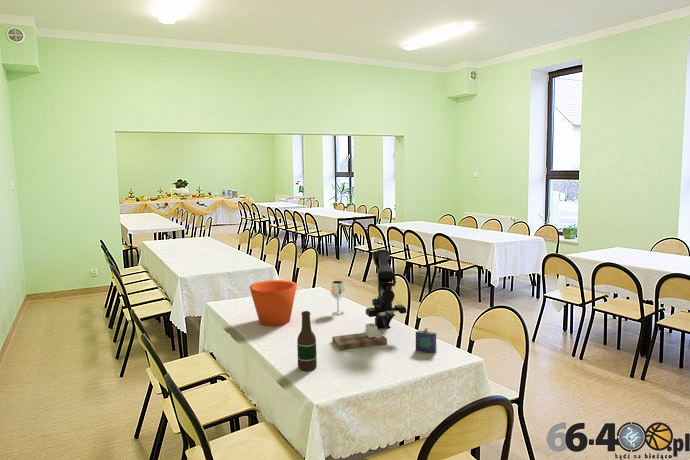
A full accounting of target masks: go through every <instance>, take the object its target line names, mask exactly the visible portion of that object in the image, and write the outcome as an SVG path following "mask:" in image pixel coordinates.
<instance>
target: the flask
mask: <svg viewBox="0 0 690 460" xmlns="http://www.w3.org/2000/svg"><path fill="white" fill-rule="evenodd" d="M428 330H429V329H428V328H427V327H425V328H424V330H420V329H419V330H416V331H415V351H416V352H417V351H418V352H417V353H427V354H428V353H429V354H434V353H437V332H436V331H428Z"/></svg>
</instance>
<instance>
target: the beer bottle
mask: <svg viewBox="0 0 690 460" xmlns="http://www.w3.org/2000/svg"><path fill="white" fill-rule="evenodd" d="M300 315H301V328H300V332H299V334H298V336H297V342H296V343H297V346H296V347H297V368H298V369H299V371H302V372H311V371H315V369H316V368H317V367H318V366H317V364H318V361H317V360H318V359H317V358H318V357H317V356H318V355H317V337H316V335H315V333H314V332H313V330H312V325H311V324H312V323H311V312H310V311H309V310H304V311H301V314H300Z"/></svg>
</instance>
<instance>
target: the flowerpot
mask: <svg viewBox="0 0 690 460" xmlns="http://www.w3.org/2000/svg"><path fill="white" fill-rule="evenodd" d="M297 286H298V284H297V283H296V282H294V281H291V280H283V279H275V280H274V279H272V280H271V279H270V280H264V281H262V280H261V281H258V282H254V283H252V284H251V285H249V290H250V294H251V298H252V301H253V305H254V307H255V310H256V311H255V312H256V315H257V318H258V322H259V324H260V325H261V326H263V327H264V326H265V327H281V326H283V325H285V326H286V325H287V324H289V323H290V322H291V317H292V312H293V307H294V303H295V302H294V301H295V296H296V292H297V291H296V290H297Z"/></svg>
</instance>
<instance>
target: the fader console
mask: <svg viewBox="0 0 690 460" xmlns="http://www.w3.org/2000/svg"><path fill="white" fill-rule="evenodd" d="M331 339H332V343H333V344H334V346H335V347H336V348H337V350H338V351H346V350H353V349H360V348H361V349H362V348H370V347H378V346H385V345H388V339H387V337H385V336H384V335H383V334H382V333H381V332H380V331H378V330H377V337H371V338H369V337H368V336H367V335H366V332H360V333H351V334H343V335H334V336H332V338H331Z"/></svg>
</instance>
